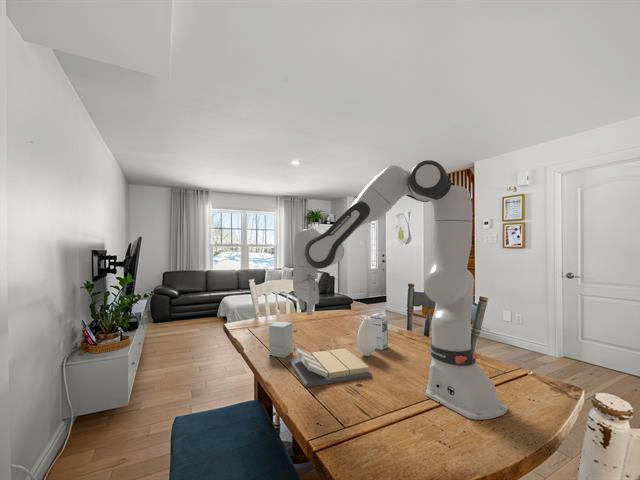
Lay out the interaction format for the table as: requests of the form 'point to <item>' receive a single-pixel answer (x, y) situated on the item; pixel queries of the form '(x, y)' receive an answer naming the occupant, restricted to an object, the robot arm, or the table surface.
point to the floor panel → (319, 378)
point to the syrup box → (380, 330)
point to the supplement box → (280, 339)
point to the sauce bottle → (366, 337)
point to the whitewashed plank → (310, 362)
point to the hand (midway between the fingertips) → (305, 312)
